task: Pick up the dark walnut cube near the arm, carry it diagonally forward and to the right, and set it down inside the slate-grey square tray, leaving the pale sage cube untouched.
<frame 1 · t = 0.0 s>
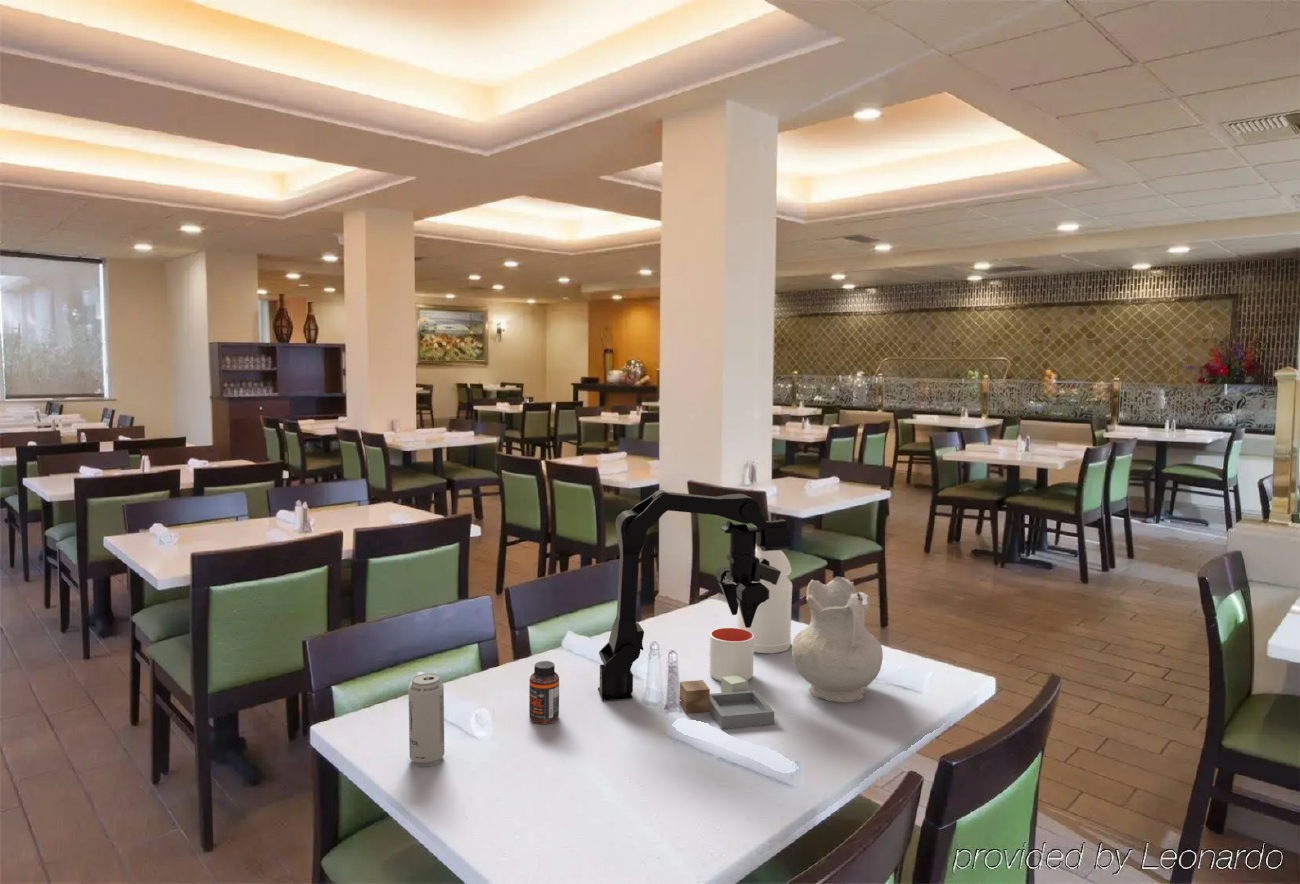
hand: (741, 620, 178), 15 cm above the table, tool pointing down, fingers open, 9 cm apart
ceramic pitcher: (838, 694, 174), on the table
walnut cube: (694, 708, 166), on the table
cup: (731, 677, 184), on the table
energy drink can: (427, 760, 143), on the table
tray: (738, 714, 163), on the table
supplement bottle: (544, 719, 161), on the table
bottle: (763, 645, 205), on the table
sage cube: (733, 697, 172), on the table
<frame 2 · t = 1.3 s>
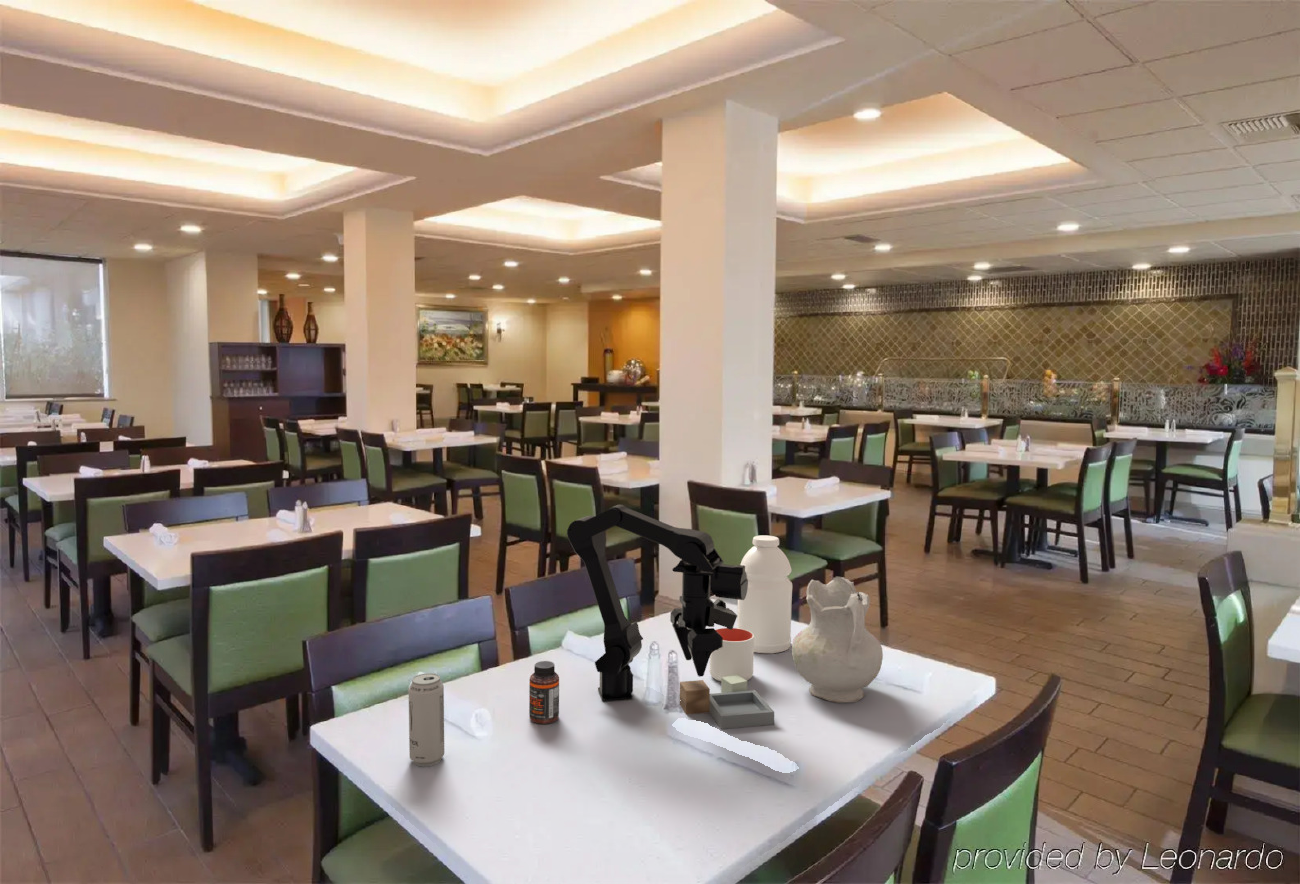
hand: (694, 667, 166), 9 cm above the table, tool pointing down, fingers open, 9 cm apart
nothing on the table moved.
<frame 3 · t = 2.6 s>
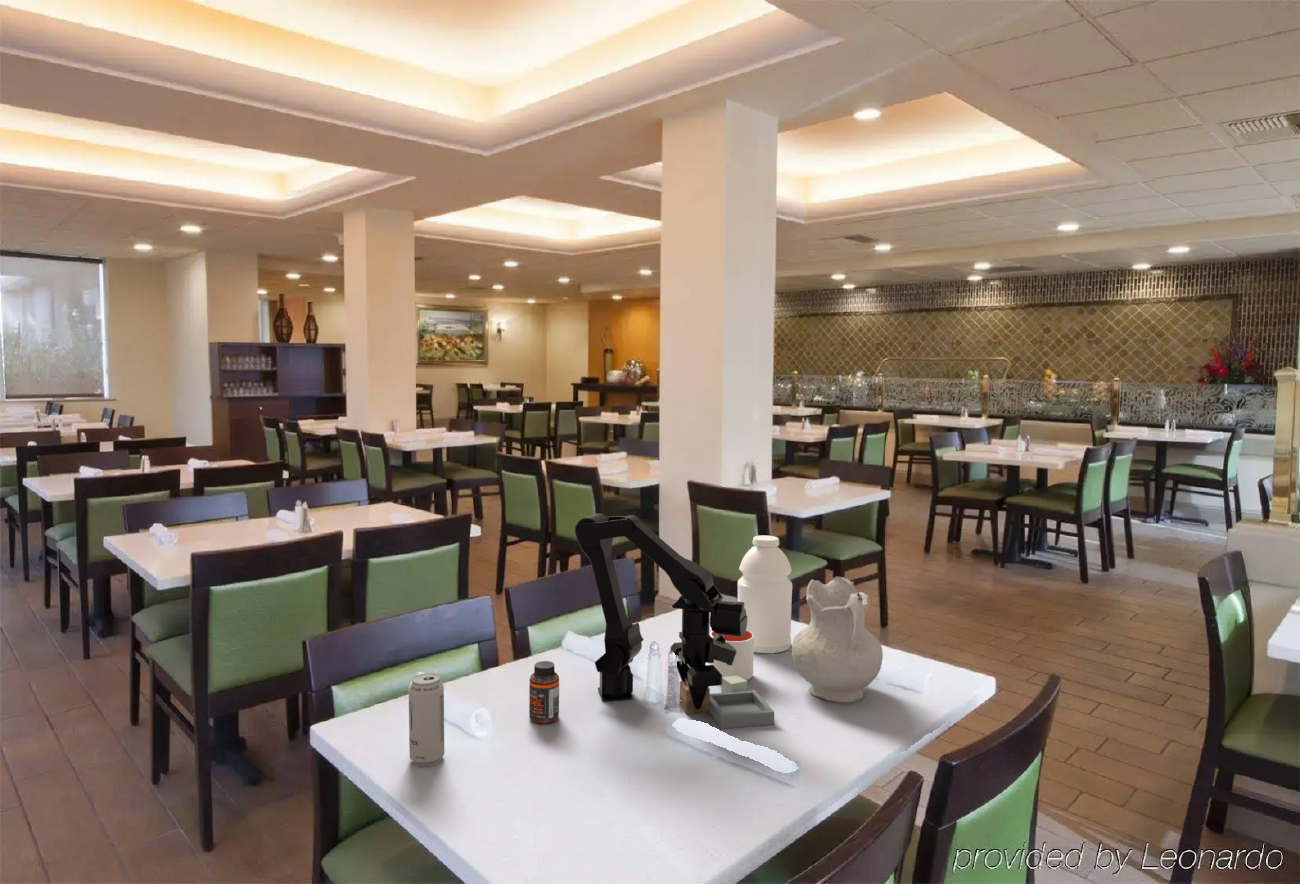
hand: (694, 703, 166), 1 cm above the table, tool pointing down, fingers closed on walnut cube, 5 cm apart
walnut cube: (694, 708, 166), on the table, touching gripper
everything else where it was.
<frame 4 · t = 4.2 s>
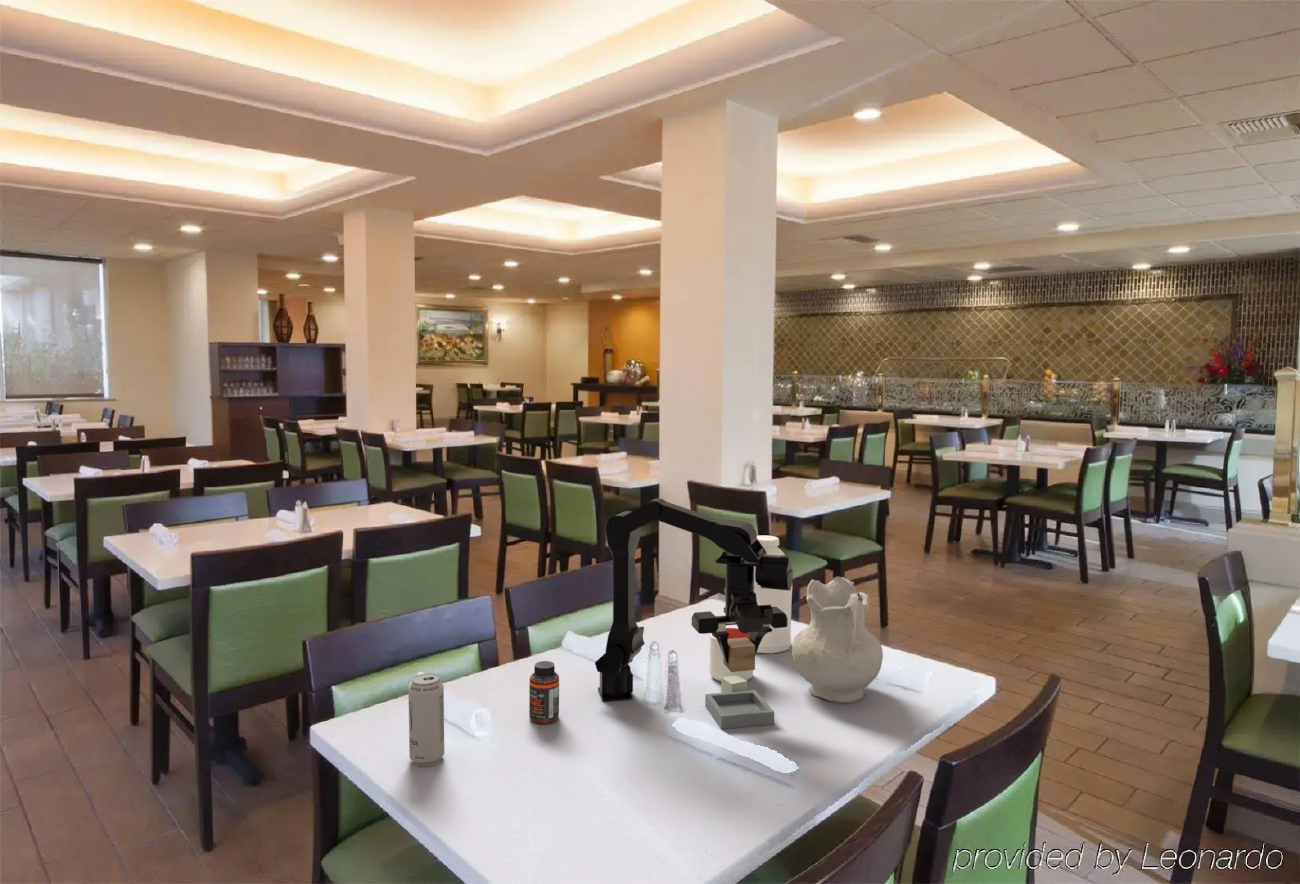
hand: (739, 661, 162), 11 cm above the table, tool pointing down, fingers closed on walnut cube, 5 cm apart
walnut cube: (739, 666, 162), point 10 cm above the table, touching gripper
everything else where it was.
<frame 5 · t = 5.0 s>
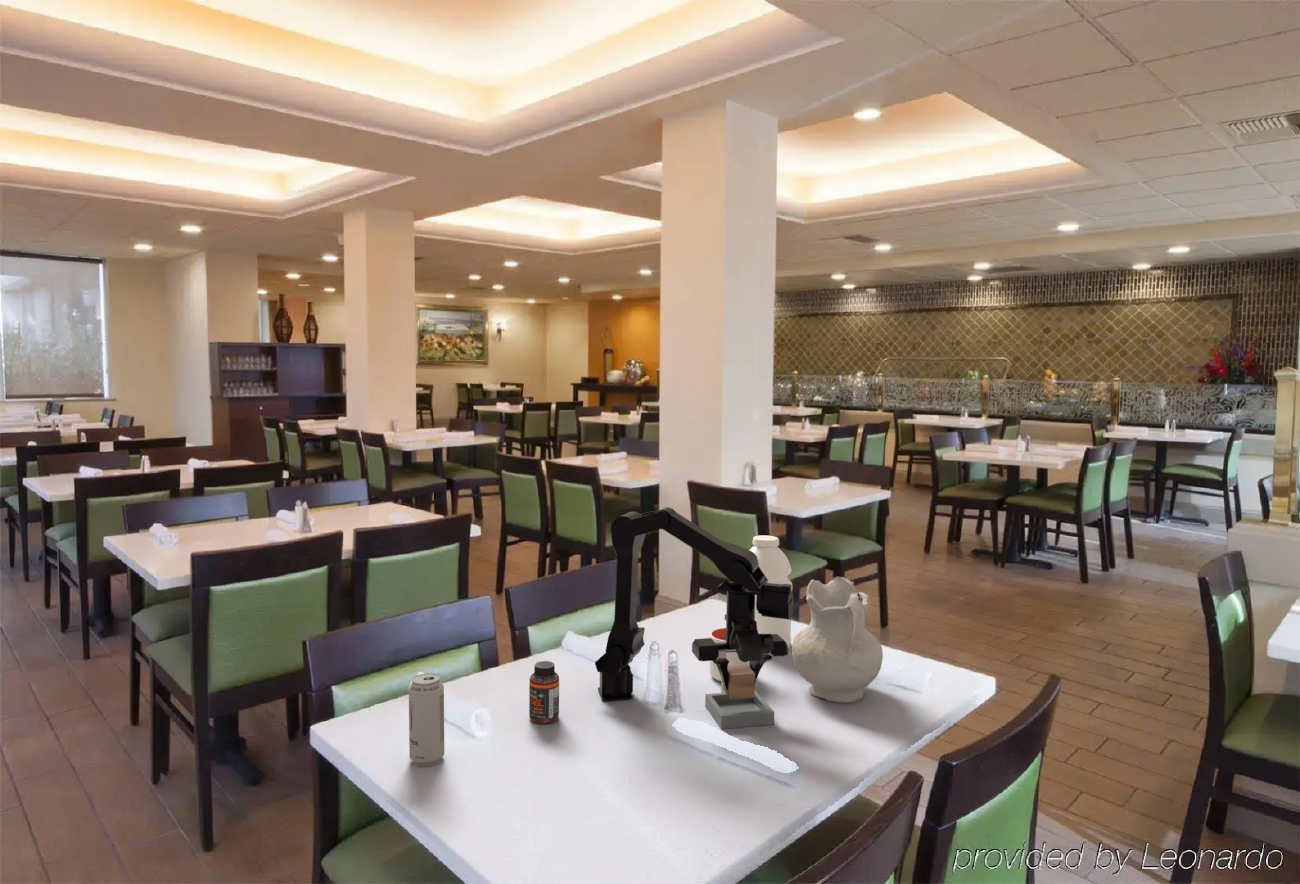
hand: (738, 688, 163), 6 cm above the table, tool pointing down, fingers closed on walnut cube, 5 cm apart
walnut cube: (738, 693, 163), point 5 cm above the table, touching gripper
everything else where it was.
when the fingers open (3 cm above the table, at t = 5.8 s): walnut cube stays where it is, resting on tray.
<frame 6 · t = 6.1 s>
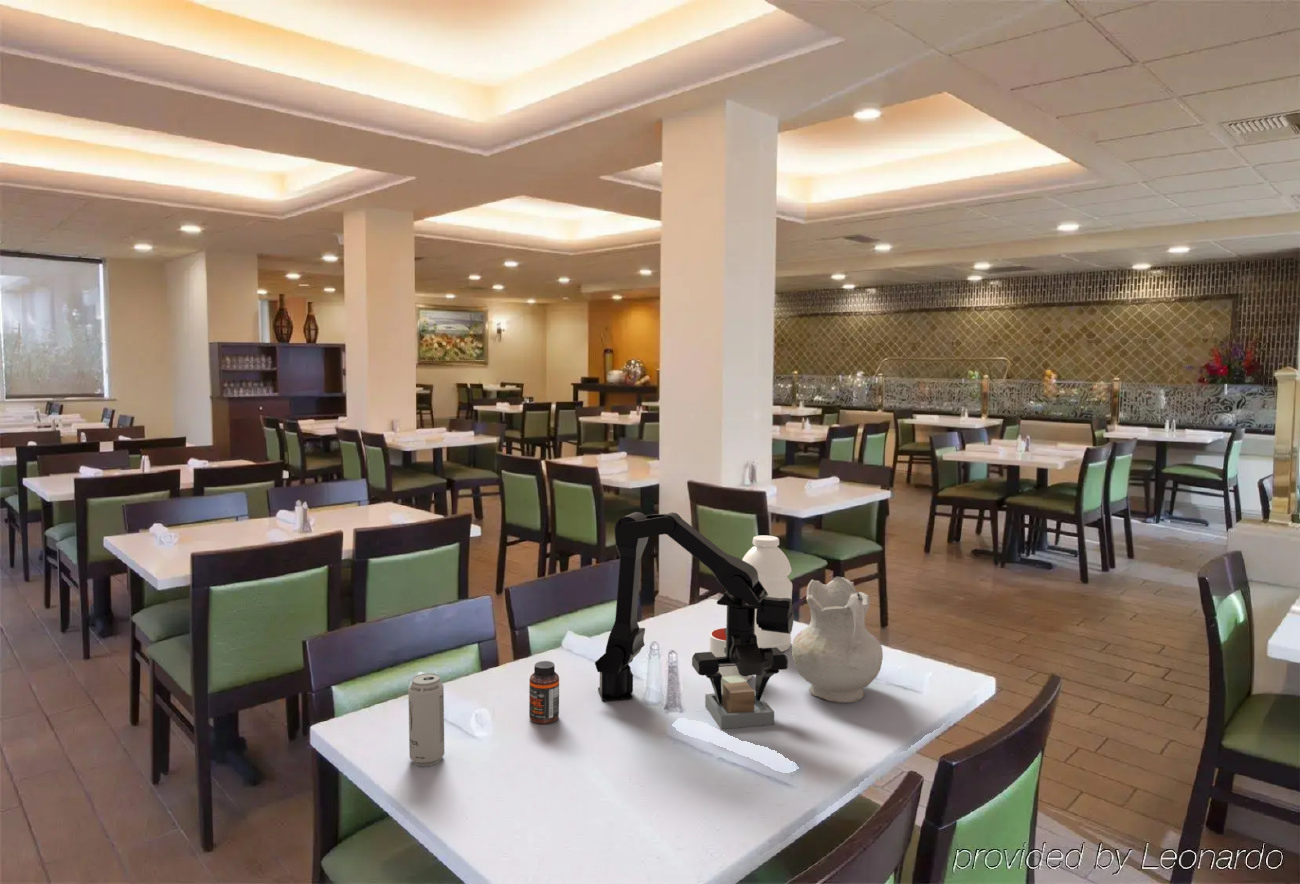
hand: (738, 701, 163), 3 cm above the table, tool pointing down, fingers open, 8 cm apart
walnut cube: (738, 711, 163), point 1 cm above the table, touching tray
everything else where it was.
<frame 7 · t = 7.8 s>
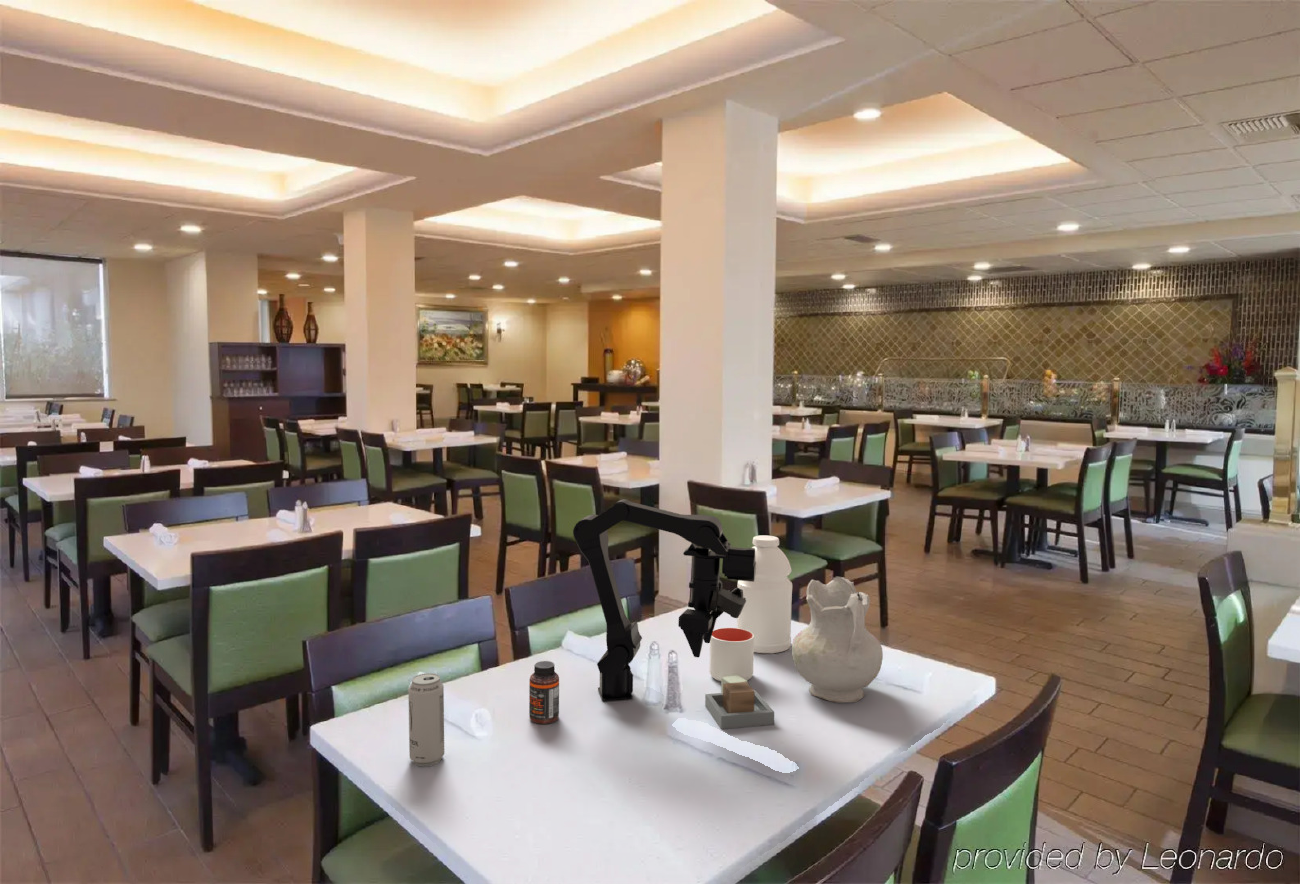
hand: (702, 649, 168), 11 cm above the table, tool pointing down, fingers open, 9 cm apart
nothing on the table moved.
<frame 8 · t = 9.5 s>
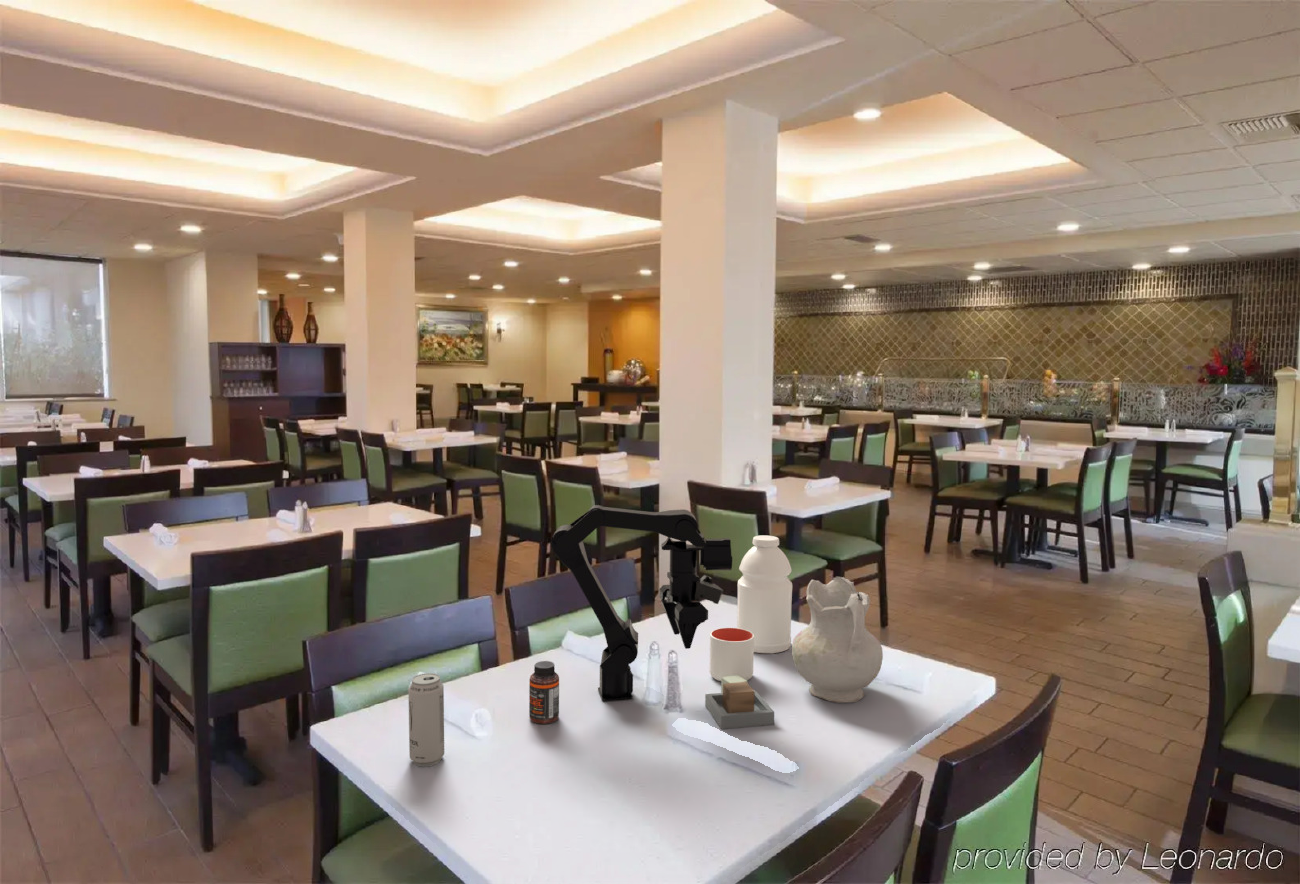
hand: (682, 641, 172), 12 cm above the table, tool pointing down, fingers open, 9 cm apart
nothing on the table moved.
at the end: walnut cube 0.1 cm off-centre on the tray, point 0.8 cm above the tray's base; walnut cube tilted 0°; the gripper is holding nothing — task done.
